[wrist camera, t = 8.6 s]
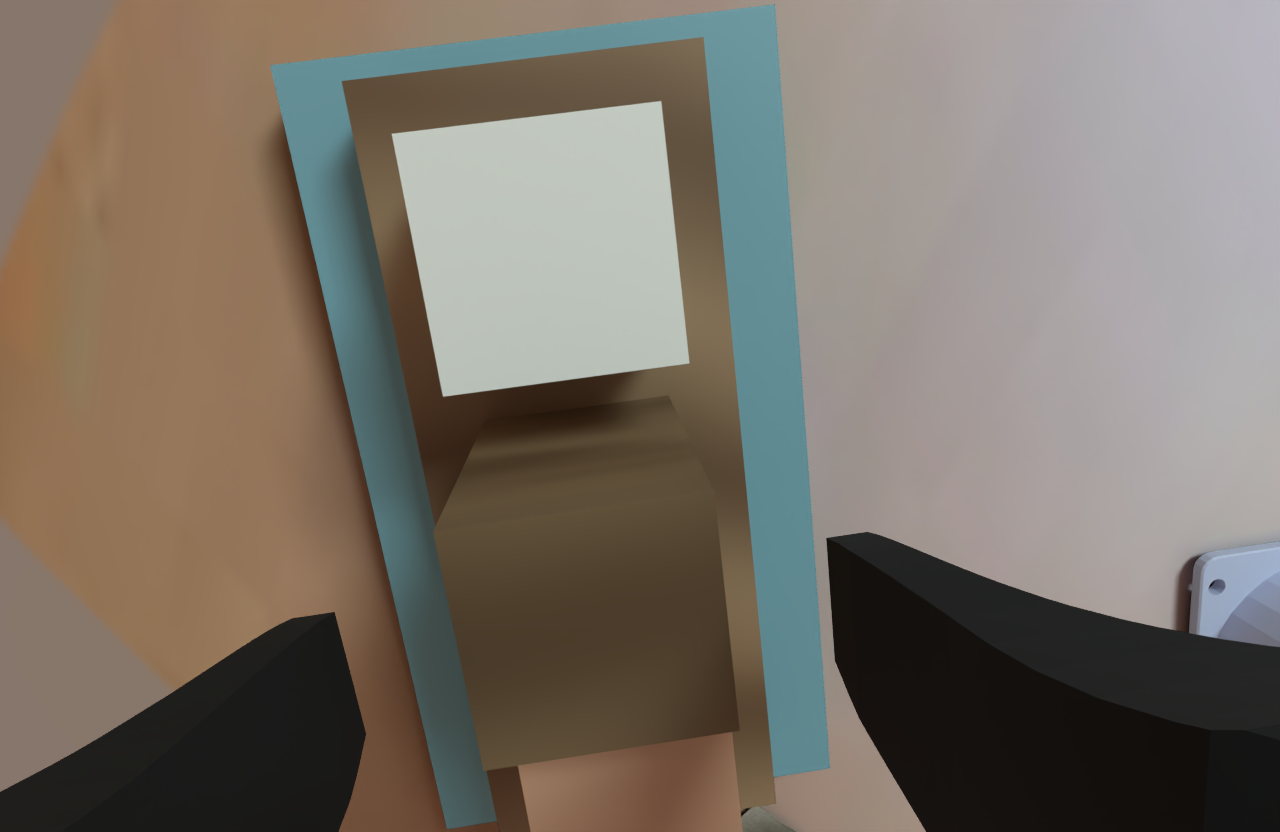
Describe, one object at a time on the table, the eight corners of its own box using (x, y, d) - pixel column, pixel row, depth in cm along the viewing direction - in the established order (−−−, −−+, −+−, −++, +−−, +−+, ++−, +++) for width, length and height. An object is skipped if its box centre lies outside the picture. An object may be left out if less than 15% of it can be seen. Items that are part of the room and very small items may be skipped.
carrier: (757, 746, 22) (857, 1049, 14) (510, 785, 22) (468, 1117, 14) (688, 59, 17) (780, -74, 9) (371, 97, 17) (186, -5, 9)
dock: (809, 723, 24) (829, 768, 22) (457, 779, 24) (446, 829, 22) (755, 25, 19) (775, 4, 17) (302, 81, 18) (270, 65, 17)
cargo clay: (715, 754, 19) (749, 890, 15) (555, 779, 19) (548, 923, 15) (699, 611, 18) (730, 718, 14) (529, 635, 18) (514, 751, 14)
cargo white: (664, 328, 16) (689, 363, 13) (475, 353, 16) (443, 396, 12) (641, 129, 15) (661, 100, 12) (440, 154, 15) (391, 133, 11)
